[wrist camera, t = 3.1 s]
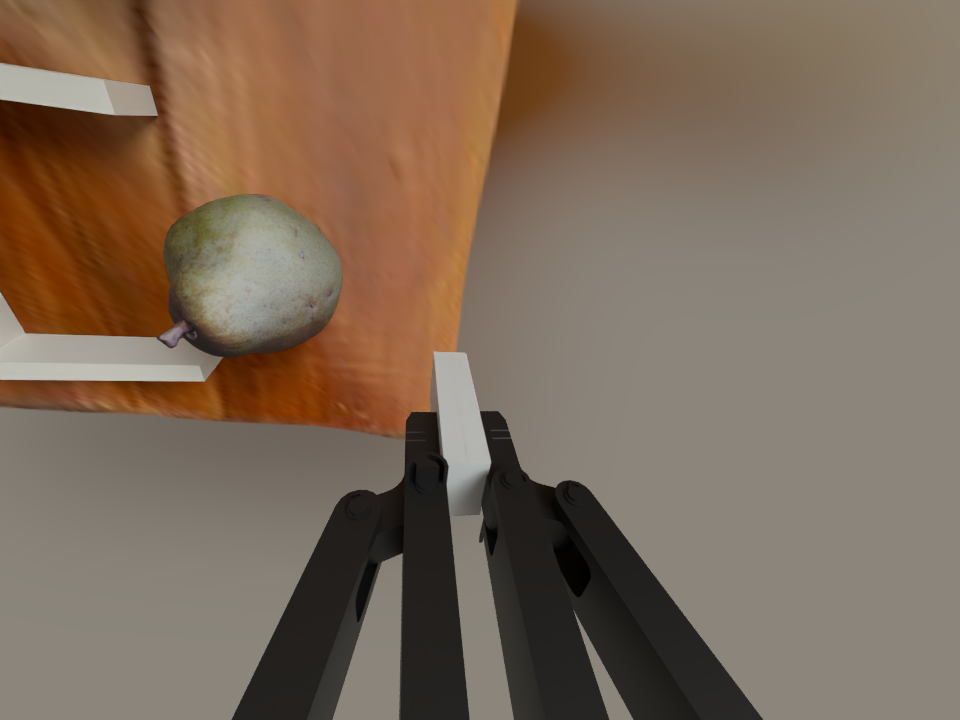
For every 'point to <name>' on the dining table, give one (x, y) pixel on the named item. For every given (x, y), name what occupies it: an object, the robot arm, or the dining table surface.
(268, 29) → the dining table surface
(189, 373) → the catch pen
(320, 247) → the fruit
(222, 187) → the dining table surface
